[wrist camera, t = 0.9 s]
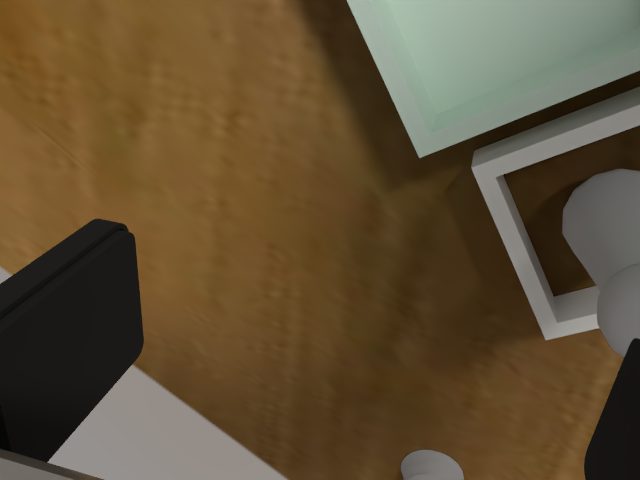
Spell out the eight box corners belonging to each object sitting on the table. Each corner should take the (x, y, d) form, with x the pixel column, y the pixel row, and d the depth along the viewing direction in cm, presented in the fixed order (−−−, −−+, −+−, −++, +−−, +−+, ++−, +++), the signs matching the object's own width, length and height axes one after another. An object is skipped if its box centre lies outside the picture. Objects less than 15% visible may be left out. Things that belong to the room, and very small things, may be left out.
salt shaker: (663, 247, 35) (736, 396, 24) (558, 249, 37) (580, 388, 25) (673, 151, 32) (758, 268, 21) (559, 158, 34) (584, 269, 23)
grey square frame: (701, 62, 30) (719, 74, 27) (757, 259, 34) (778, 286, 31) (474, 150, 35) (471, 168, 33) (543, 313, 39) (545, 340, 36)
